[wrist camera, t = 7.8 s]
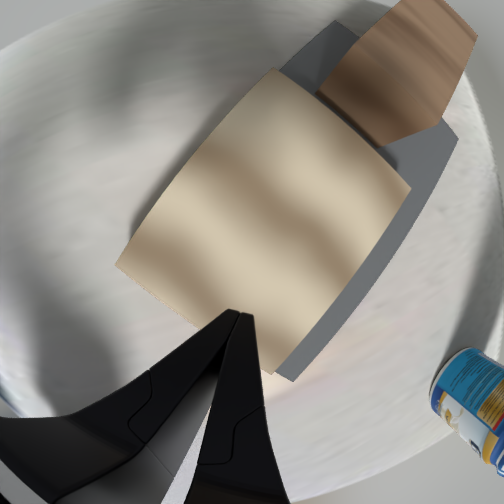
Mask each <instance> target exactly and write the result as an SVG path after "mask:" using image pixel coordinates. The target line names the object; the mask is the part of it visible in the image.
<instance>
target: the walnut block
mask: <svg viewBox="0 0 504 504" xmlns="http://www.w3.org/2000/svg"><path fill="white" fill-rule="evenodd" d="M477 37H478V35H477V34H476V33H475V32H474V31H473V30H472V28H471V27H470V26H469V25H468V24H467V23H466V22H465V21H464V20H463V19H462V18H461V17H460V16H459V15H458V14H457V13H456V12H455V11H454V10H453V9H452V8H451V7H450V6H449V5H448V4H447V3H446V2H445V1H444V0H401V1H400V2H398V3H397V4H396V5H395V6H394V7H393V8H392V9H391V10H389V11H388V12H387V13H386V14H385V15H384V16H383V17H382V18H381V19H380V20H379V21H377V22H376V23H375V24H374V25H373V26H372V27H371V28H370V29H369V30H368V31H367V32H366V33H365V34H364V35H363V36H362V37H361V38H360V39H359V40H358V41H357V42H356V43H355V44H354V45H353V46H352V47H351V48H350V49H349V51H348V52H347V53H346V54H345V56H344V57H343V58H342V59H341V61H340V62H339V63H338V64H337V66H336V67H335V68H334V69H333V71H332V72H331V73H330V74H329V76H328V77H327V78H326V80H325V81H324V82H323V83H322V85H321V86H320V87H319V89H318V90H317V91H316V92H315V94H316V95H317V96H318V97H320V98H321V99H322V100H323V101H325V102H326V103H327V104H328V105H330V106H331V107H332V108H333V109H334V110H336V111H337V112H338V113H339V114H340V115H341V116H343V117H344V118H345V119H346V120H347V121H348V122H349V123H351V124H352V125H353V126H354V127H355V128H356V129H357V130H358V131H359V132H361V133H362V134H363V135H364V136H365V137H366V138H367V139H368V140H369V141H370V142H371V143H372V144H373V145H374V146H375V147H376V148H379V147H382V146H384V145H387V144H389V143H392V142H394V141H397V140H399V139H402V138H404V137H407V136H409V135H412V134H415V133H417V132H420V131H422V130H425V129H428V128H430V127H433V126H436V125H438V123H439V121H440V119H441V117H442V115H443V113H444V111H445V109H446V107H447V105H448V103H449V101H450V99H451V97H452V95H453V93H454V91H455V89H456V86H457V84H458V82H459V80H460V78H461V76H462V73H463V71H464V69H465V66H466V64H467V62H468V59H469V57H470V55H471V52H472V50H473V47H474V45H475V42H476V39H477Z"/></svg>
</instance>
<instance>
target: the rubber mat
mask: <svg viewBox="0 0 504 504" xmlns="http://www.w3.org/2000/svg"><path fill="white" fill-rule="evenodd" d="M359 39H360V38H359V37H358V36H356V35H355V34H354V33H352V32H351V31H350V30H348V29H347V28H346V27H344V26H343V25H341V24H340V23H338V22H337V21H336V20H335V21H334V22H333V23H331V24H330V25H329V26H328V27H327V28H325V29H324V30H323V31H322V32H321V33H320V34H318V35H317V36H316V37H315V38H314V39H313V40H312V41H310V42H309V43H308V44H307V45H306V46H305V47H304V48H303V49H302V50H300V51H299V52H298V53H297V54H296V55H295V56H294V57H293V58H292V59H291V60H290V61H289V62H288V63H287V64H286V65H285V66H283V67H282V68H281V69H280V70H279V72H281V73H282V74H284V75H285V76H287V77H288V78H289V79H291V80H292V81H294V82H295V83H296V84H298V85H299V86H300V87H302V88H303V89H304V90H306V91H307V92H308V93H310V94H311V95H312V96H314V97H315V98H316V99H317V100H319V101H320V102H321V103H322V104H324V105H325V106H326V107H327V108H329V109H330V110H331V111H332V112H333V113H335V114H336V115H337V116H338V117H339V118H340V119H342V120H343V121H344V122H345V123H346V124H347V125H349V126H350V127H351V128H352V129H353V130H354V131H355V132H356V133H357V134H358V135H360V136H361V137H362V138H363V139H364V140H365V141H366V142H367V143H368V144H369V145H370V146H371V147H372V148H373V149H374V150H375V151H376V152H377V153H378V154H379V155H380V156H381V157H382V158H383V159H384V160H385V161H386V162H387V163H388V164H389V165H390V166H391V167H392V168H393V169H394V170H395V171H396V172H397V173H398V174H399V175H400V176H401V178H402V179H403V180H404V181H405V182H406V183H407V184H408V185H409V186H410V188H411V190H410V192H409V194H408V195H407V197H406V198H405V200H404V202H403V203H402V205H401V207H400V208H399V210H398V211H397V213H396V214H395V216H394V218H393V219H392V221H391V222H390V224H389V225H388V227H387V228H386V230H385V231H384V233H383V234H382V236H381V237H380V239H379V240H378V242H377V243H376V245H375V246H374V247H373V249H372V250H371V252H370V253H369V255H368V256H367V258H366V259H365V260H364V262H363V263H362V265H361V266H360V267H359V269H358V270H357V271H356V273H355V274H354V276H353V277H352V278H351V280H350V281H349V282H348V284H347V285H346V286H345V288H344V289H343V290H342V292H341V293H340V294H339V295H338V297H337V298H336V299H335V301H334V302H333V303H332V304H331V306H330V307H329V308H328V309H327V311H326V312H325V313H324V314H323V316H322V317H321V318H320V319H319V321H318V322H317V323H316V324H315V326H314V327H313V328H312V329H311V330H310V332H309V333H308V334H307V335H306V336H305V338H304V339H303V340H302V341H301V342H300V343H299V345H298V346H297V347H296V348H295V349H294V350H293V351H292V353H291V354H290V355H289V356H288V357H287V358H286V359H285V361H284V362H283V363H282V364H281V365H280V366H279V367H278V368H277V369H276V370H275V372H276V373H278V374H280V375H281V376H283V377H285V378H287V379H288V380H290V381H292V382H294V381H295V379H296V378H297V377H298V376H299V375H300V374H301V373H302V372H303V371H304V370H305V369H306V367H307V366H308V365H309V364H310V363H311V362H312V361H313V360H314V359H315V357H316V356H317V355H318V354H319V353H320V352H321V351H322V349H323V348H324V347H325V346H326V345H327V344H328V342H329V341H330V340H331V339H332V338H333V336H334V335H335V334H336V333H337V331H338V330H339V329H340V328H341V327H342V325H343V324H344V323H345V322H346V320H347V319H348V318H349V317H350V315H351V314H352V313H353V311H354V310H355V309H356V308H357V306H358V305H359V304H360V302H361V301H362V300H363V298H364V297H365V296H366V294H367V293H368V292H369V290H370V289H371V287H372V286H373V285H374V283H375V282H376V280H377V279H378V278H379V276H380V275H381V273H382V272H383V270H384V269H385V268H386V266H387V265H388V263H389V262H390V260H391V259H392V257H393V256H394V254H395V253H396V251H397V250H398V248H399V247H400V245H401V244H402V242H403V240H404V239H405V237H406V236H407V234H408V232H409V231H410V229H411V228H412V226H413V224H414V223H415V221H416V219H417V218H418V216H419V214H420V213H421V211H422V209H423V207H424V206H425V204H426V202H427V200H428V199H429V197H430V195H431V193H432V191H433V189H434V188H435V186H436V184H437V182H438V180H439V178H440V176H441V174H442V172H443V170H444V169H445V167H446V165H447V163H448V160H449V158H450V156H451V154H452V152H453V150H454V148H455V146H456V144H457V141H458V137H457V136H456V135H455V133H454V132H453V131H452V129H451V128H450V127H449V126H448V124H447V123H446V122H445V121H444V119H443V118H442V117H441V119H440V121H439V123H438V125H436V126H433V127H430V128H428V129H425V130H422V131H420V132H417V133H415V134H412V135H409V136H407V137H404V138H402V139H399V140H397V141H394V142H392V143H389V144H387V145H384V146H382V147H379V148H376V147H375V146H374V145H373V144H372V143H371V142H370V141H369V140H368V139H367V138H366V137H365V136H364V135H363V134H362V133H361V132H359V131H358V130H357V129H356V128H355V127H354V126H353V125H352V124H351V123H349V122H348V121H347V120H346V119H345V118H344V117H343V116H341V115H340V114H339V113H338V112H337V111H336V110H334V109H333V108H332V107H331V106H330V105H328V104H327V103H326V102H325V101H323V100H322V99H321V98H320V97H318V96H317V95H316V94H315V92H316V91H317V90H318V89H319V87H320V86H321V85H322V83H323V82H324V81H325V80H326V78H327V77H328V76H329V74H330V73H331V72H332V71H333V69H334V68H335V67H336V66H337V64H338V63H339V62H340V61H341V59H342V58H343V57H344V56H345V54H346V53H347V52H348V51H349V49H350V48H351V47H352V46H353V45H354V44H355V43H356V42H357V41H358V40H359Z"/></svg>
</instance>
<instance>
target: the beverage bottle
mask: <svg viewBox="0 0 504 504" xmlns="http://www.w3.org/2000/svg"><path fill="white" fill-rule="evenodd" d="M429 402H430V406H431V408H432V410H433V411H434V412H435V413H437V414H438V415H439V416H440V417H441V418H442V419H443V420H444V421H445V422H446V423H447V424H448V425H449V426H451V427H452V428H453V429H454V430H455V431H456V432H457V433H458V434H459V435H460V436H461V437H462V438H463V439H464V440H465V441H466V442H467V443H468V444H469V445H470V446H471V447H472V448H473V449H474V450H475V451H476V452H477V453H478V454H479V457H480V459H481V460H482V461H484V462H485V463H486V464H493V465H495V466H496V468H497V473H498V474H499V475H500V476H502V477H504V366H503V365H501V364H499V363H498V362H496V361H494V360H493V359H491V358H489V357H488V356H486V355H485V354H484V353H483V352H481V351H480V350H478V349H476V348H472V347H470V348H465V349H463V350H461V351H459V352H458V353H456V354H455V355H454V356H453V357H452V358H451V359H450V360H449V361H448V362H447V363H446V364H445V365H444V367H443V368H442V369H441V371H440V372H439V374H438V375H437V377H436V379H435V381H434V383H433V386H432V388H431V392H430V397H429Z"/></svg>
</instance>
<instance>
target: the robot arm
mask: <svg viewBox="0 0 504 504" xmlns="http://www.w3.org/2000/svg"><path fill="white" fill-rule="evenodd" d="M210 406H211V408H210ZM209 408H210V412H209V416H208V420H207V424H206V429H205V433H204V437H203V441H202V445H201V449H200V453H199V457H198V461H197V466H196V469H195V473H194V476H193V480H192V483H191V486H190V489H189V491H188V494H187V496H186V499H185V501H184V504H291V503H290V501H289V499H288V497H287V494H286V491H285V488H284V485H283V482H282V479H281V476H280V472H279V469H278V466H277V462H276V459H275V456H274V452H273V449H272V445H271V441H270V436H269V432H268V426H267V419H266V412H265V406H264V396H263V388H262V379H261V371H260V362H259V354H258V345H257V337H256V328H255V319H254V315H253V314H250V313H246V312H241V313H240V311H238V310H234V309H226V310H225V311H224V312H222V313H221V314H220V315H219V316H217V317H216V318H215V319H214V320H212V321H211V322H210V323H208V324H207V325H206V326H205V327H203V328H202V329H201V330H199V331H198V332H197V333H196V334H194V335H193V336H192V337H190V338H189V339H188V340H186V341H185V342H184V343H183V344H181V345H180V346H179V347H177V348H176V349H175V350H173V351H172V352H171V353H169V354H168V355H167V356H165V357H164V358H163V359H161V360H160V361H159V362H157V363H156V364H155V365H153V366H152V367H151V368H150V369H149V370H146V371H145V372H144V373H142V374H141V375H140V376H138V377H137V378H136V379H134V380H133V381H131V382H130V383H128V384H127V385H125V386H124V387H122V388H120V389H118V390H117V391H115V392H113V393H112V394H110V395H108V396H106V397H104V398H102V399H101V400H99V401H97V402H95V403H93V404H91V405H89V406H87V407H86V408H84V409H82V410H80V411H78V412H75V413H73V414H70V415H66V416H60V417H43V418H6V417H0V504H161V502H162V500H163V499H164V497H165V495H166V493H167V491H168V489H169V487H170V485H171V483H172V482H173V480H174V477H175V476H176V474H177V472H178V470H179V468H180V466H181V464H182V462H183V460H184V458H185V456H186V454H187V452H188V450H189V448H190V446H191V444H192V442H193V440H194V438H195V436H196V434H197V432H198V430H199V428H200V426H201V424H202V422H203V420H204V418H205V416H206V414H207V412H208V410H209Z"/></svg>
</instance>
